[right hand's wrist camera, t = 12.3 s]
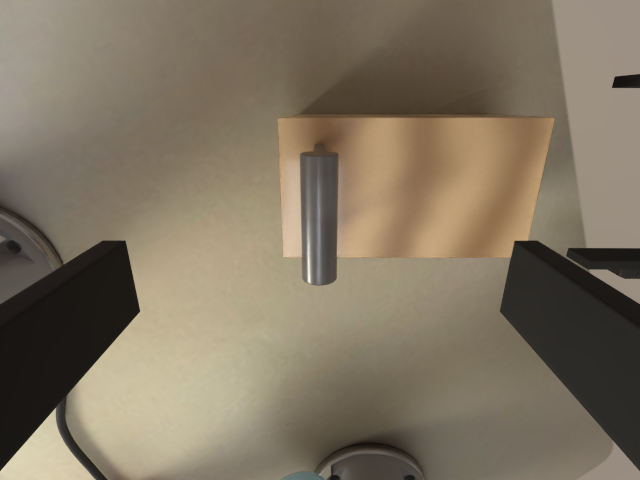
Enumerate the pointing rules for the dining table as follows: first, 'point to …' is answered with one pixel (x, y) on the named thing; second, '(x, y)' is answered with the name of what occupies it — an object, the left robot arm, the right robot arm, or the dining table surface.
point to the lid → (407, 187)
